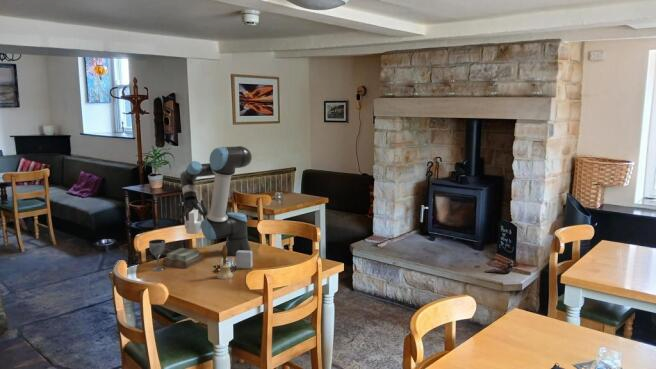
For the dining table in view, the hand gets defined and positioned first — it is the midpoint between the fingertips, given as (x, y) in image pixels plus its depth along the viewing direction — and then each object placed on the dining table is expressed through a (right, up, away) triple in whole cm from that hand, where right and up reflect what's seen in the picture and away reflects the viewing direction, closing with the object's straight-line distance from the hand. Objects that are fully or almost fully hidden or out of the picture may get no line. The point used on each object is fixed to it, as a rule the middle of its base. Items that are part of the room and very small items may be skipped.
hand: (194, 226), depth 286 cm
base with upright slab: (-1, -4, +4) cm, 5 cm away
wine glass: (-13, -21, -23) cm, 33 cm away
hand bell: (+24, -22, -33) cm, 47 cm away
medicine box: (+31, -20, -19) cm, 42 cm away
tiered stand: (-3, -19, -12) cm, 22 cm away
